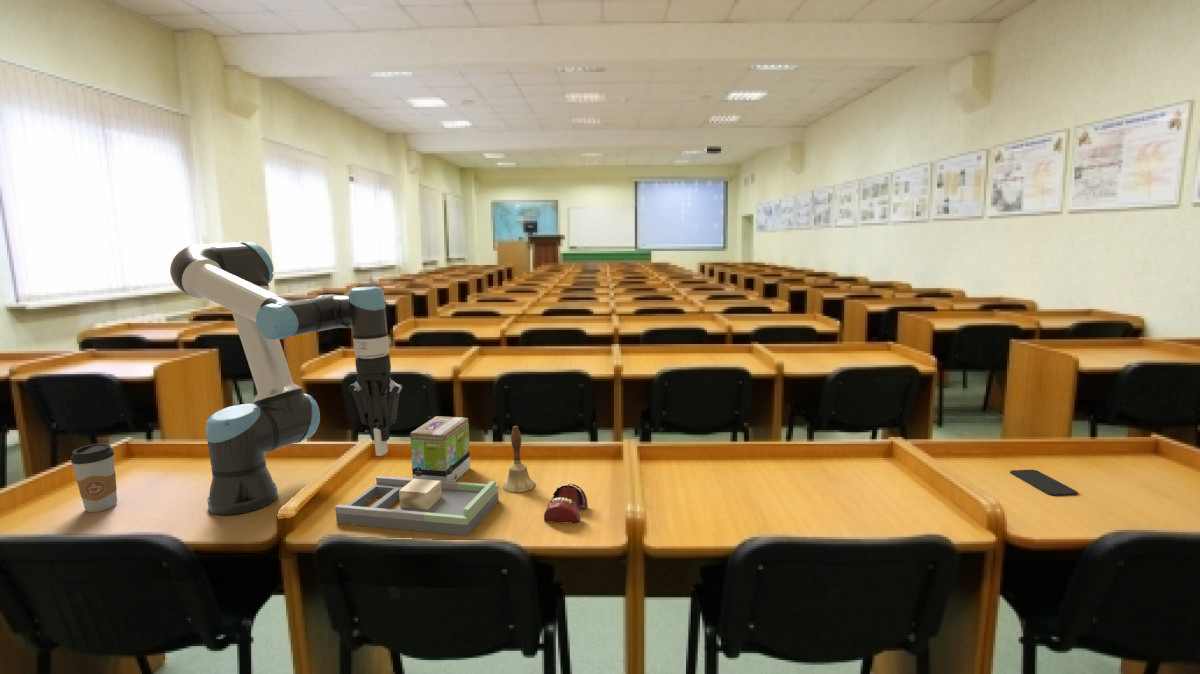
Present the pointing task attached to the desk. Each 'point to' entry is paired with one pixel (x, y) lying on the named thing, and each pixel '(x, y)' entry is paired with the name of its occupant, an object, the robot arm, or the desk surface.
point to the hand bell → (517, 468)
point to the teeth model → (566, 504)
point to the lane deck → (447, 515)
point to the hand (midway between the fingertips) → (381, 453)
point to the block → (420, 494)
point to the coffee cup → (95, 476)
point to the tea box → (441, 449)
